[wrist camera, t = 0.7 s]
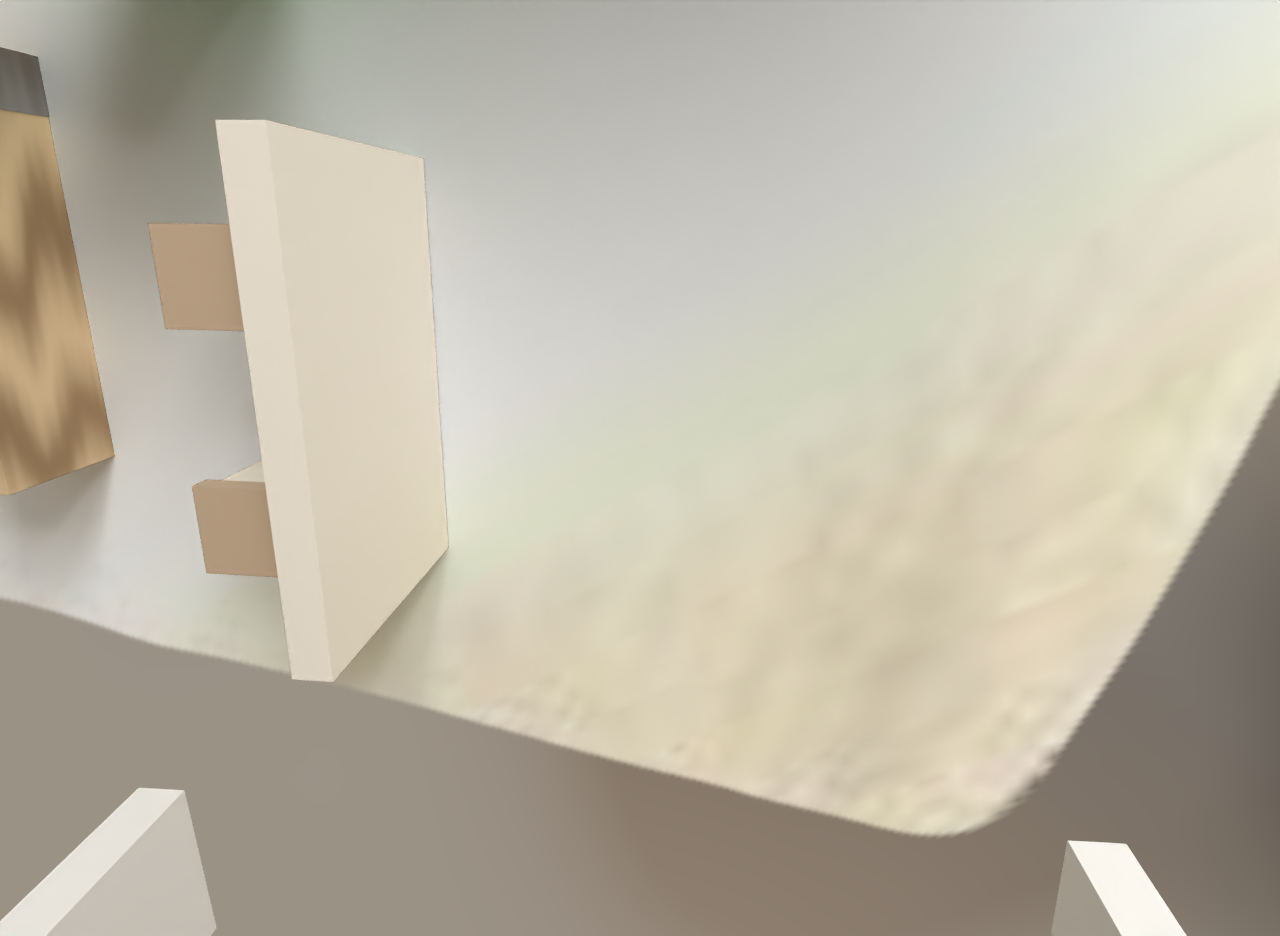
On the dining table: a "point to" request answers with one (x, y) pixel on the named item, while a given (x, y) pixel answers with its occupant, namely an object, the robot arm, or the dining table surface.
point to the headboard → (320, 378)
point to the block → (40, 302)
